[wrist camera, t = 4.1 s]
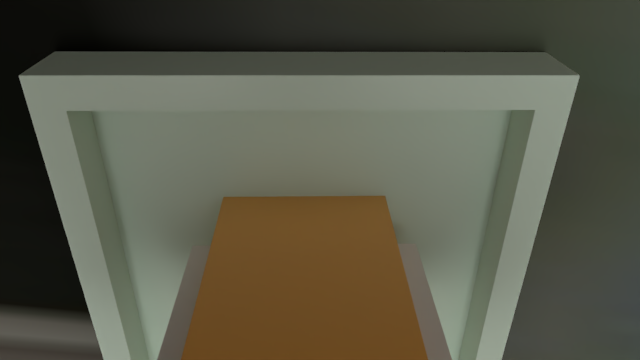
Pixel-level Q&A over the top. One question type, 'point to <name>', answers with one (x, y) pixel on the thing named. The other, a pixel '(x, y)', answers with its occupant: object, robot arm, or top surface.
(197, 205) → the tray
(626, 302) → the top surface
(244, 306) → the plug
